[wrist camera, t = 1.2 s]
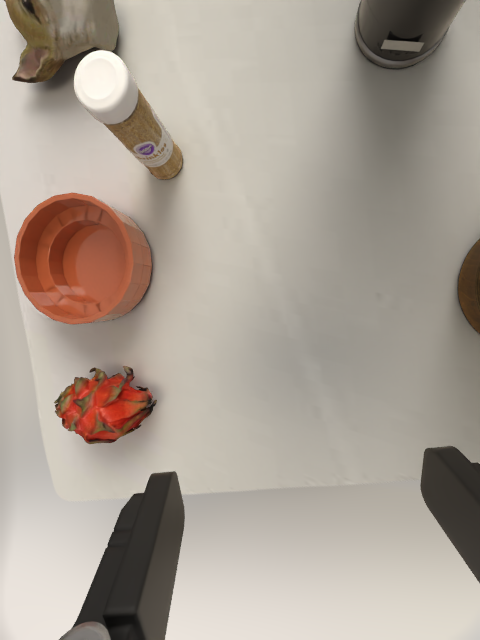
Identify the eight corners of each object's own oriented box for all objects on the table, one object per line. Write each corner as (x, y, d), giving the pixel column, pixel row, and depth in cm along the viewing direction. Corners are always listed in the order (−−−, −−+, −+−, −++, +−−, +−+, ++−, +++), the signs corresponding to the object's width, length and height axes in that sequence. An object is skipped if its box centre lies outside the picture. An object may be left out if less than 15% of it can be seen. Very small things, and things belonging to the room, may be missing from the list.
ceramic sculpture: (89, 1, 26) (-42, 43, 29) (140, 74, 35) (34, 101, 38) (76, -126, 26) (-56, -70, 29) (131, -20, 34) (25, 15, 37)
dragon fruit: (83, 384, 41) (169, 383, 41) (64, 450, 36) (161, 448, 36) (50, 359, 34) (154, 358, 34) (21, 437, 29) (142, 435, 29)
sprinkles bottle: (161, 188, 36) (91, 123, 22) (141, 156, 36) (60, 73, 22) (191, 165, 35) (137, 84, 22) (171, 133, 35) (105, 33, 22)
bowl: (60, 199, 37) (23, 183, 32) (164, 220, 36) (143, 206, 30) (44, 307, 39) (7, 308, 33) (143, 331, 37) (120, 336, 32)
